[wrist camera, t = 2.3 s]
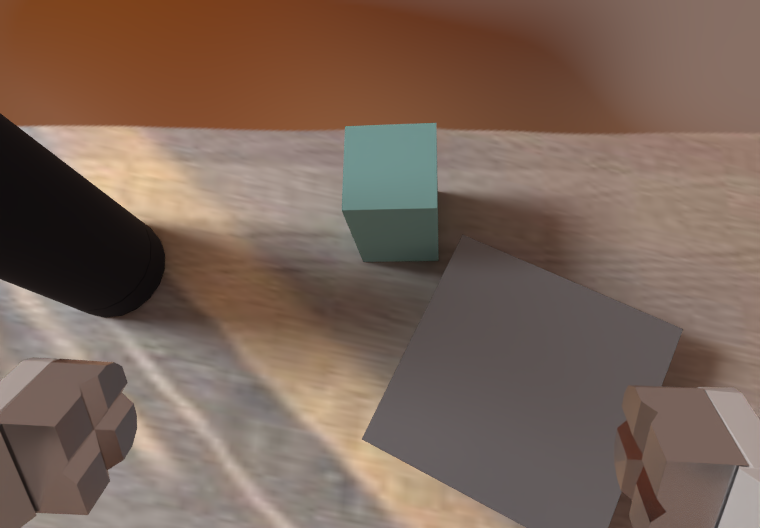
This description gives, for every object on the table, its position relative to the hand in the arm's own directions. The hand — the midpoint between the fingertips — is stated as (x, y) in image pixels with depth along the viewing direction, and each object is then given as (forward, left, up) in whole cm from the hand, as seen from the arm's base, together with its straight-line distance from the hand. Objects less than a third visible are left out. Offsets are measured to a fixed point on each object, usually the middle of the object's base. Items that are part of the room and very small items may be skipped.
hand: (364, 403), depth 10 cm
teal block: (+11, +6, -24) cm, 27 cm away
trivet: (+5, -4, -24) cm, 24 cm away
